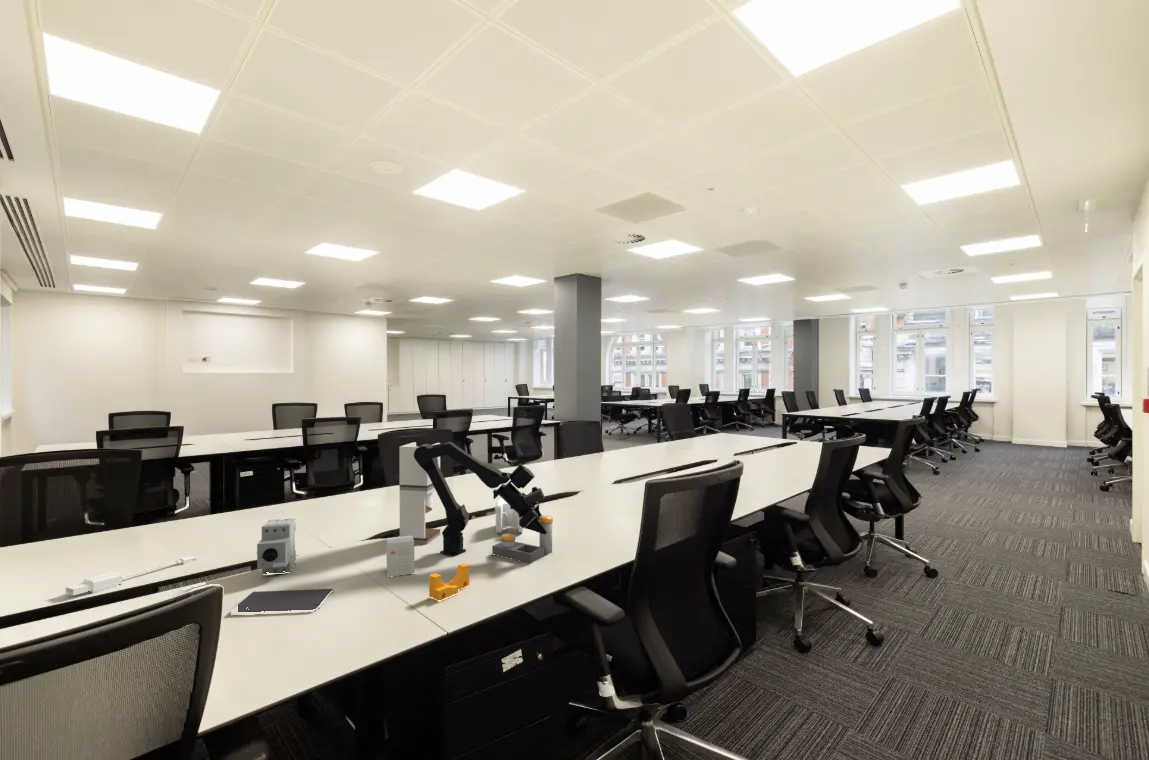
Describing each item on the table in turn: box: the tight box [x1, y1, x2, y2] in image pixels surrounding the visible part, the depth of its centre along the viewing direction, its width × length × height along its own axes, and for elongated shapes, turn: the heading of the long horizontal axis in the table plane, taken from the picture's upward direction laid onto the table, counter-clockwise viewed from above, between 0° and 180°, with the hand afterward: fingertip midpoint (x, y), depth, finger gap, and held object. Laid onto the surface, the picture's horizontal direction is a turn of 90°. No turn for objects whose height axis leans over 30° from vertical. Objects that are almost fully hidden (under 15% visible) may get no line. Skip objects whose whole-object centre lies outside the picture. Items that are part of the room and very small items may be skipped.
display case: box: [399, 441, 441, 545], centre depth 196 cm, size 11×11×35 cm
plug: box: [539, 514, 554, 555], centre depth 183 cm, size 5×5×12 cm
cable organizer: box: [494, 497, 524, 534], centre depth 208 cm, size 15×11×12 cm
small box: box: [386, 536, 416, 578], centre depth 163 cm, size 8×6×10 cm
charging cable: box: [65, 555, 198, 596], centre depth 160 cm, size 5×32×3 cm, turn 156°
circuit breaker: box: [256, 517, 297, 575], centre depth 162 cm, size 8×14×15 cm, turn 15°
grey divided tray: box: [491, 533, 545, 564], centre depth 179 cm, size 8×16×6 cm, turn 59°
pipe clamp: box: [428, 562, 470, 600], centre depth 149 cm, size 12×4×6 cm, turn 142°
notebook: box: [237, 588, 334, 612], centre depth 142 cm, size 13×2×21 cm
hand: (546, 529), depth 183 cm, fingers open, 9 cm apart
